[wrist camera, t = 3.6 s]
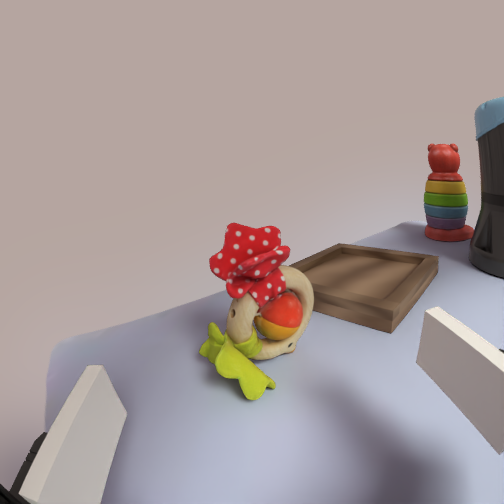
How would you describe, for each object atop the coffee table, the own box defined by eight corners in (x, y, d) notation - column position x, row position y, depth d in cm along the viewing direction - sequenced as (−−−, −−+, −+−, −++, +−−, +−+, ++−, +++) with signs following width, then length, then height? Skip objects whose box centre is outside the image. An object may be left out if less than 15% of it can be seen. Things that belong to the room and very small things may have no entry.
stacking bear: (476, 234, 43) (474, 145, 38) (461, 245, 39) (457, 140, 34) (434, 227, 52) (430, 145, 48) (413, 236, 48) (407, 143, 44)
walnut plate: (437, 272, 31) (438, 256, 30) (391, 333, 21) (393, 310, 21) (339, 257, 43) (338, 243, 42) (264, 294, 33) (262, 277, 33)
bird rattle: (262, 357, 25) (172, 366, 19) (287, 237, 25) (197, 212, 19) (316, 385, 20) (221, 413, 14) (349, 244, 20) (259, 214, 14)
